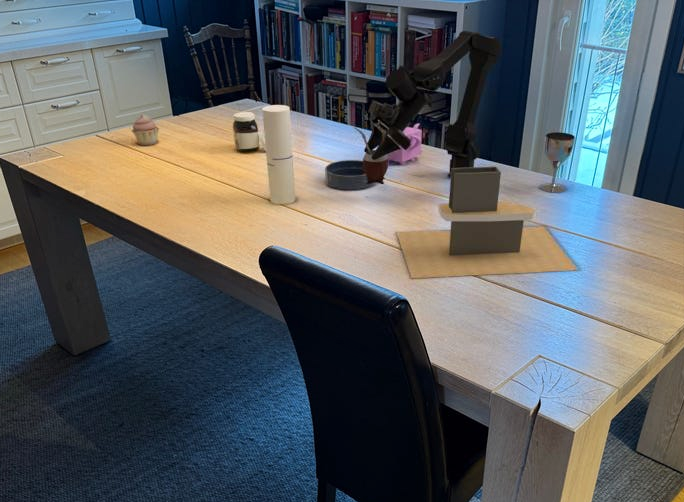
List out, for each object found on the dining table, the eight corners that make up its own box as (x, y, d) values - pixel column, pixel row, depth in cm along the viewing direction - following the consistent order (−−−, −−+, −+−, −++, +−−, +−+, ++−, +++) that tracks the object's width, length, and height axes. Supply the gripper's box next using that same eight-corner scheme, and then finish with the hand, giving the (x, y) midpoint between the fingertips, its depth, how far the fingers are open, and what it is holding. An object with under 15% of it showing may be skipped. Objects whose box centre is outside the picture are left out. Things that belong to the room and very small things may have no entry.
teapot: (423, 167, 214) (424, 132, 208) (381, 167, 214) (381, 132, 208) (418, 152, 227) (419, 119, 221) (378, 153, 226) (379, 120, 220)
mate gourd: (393, 181, 188) (393, 126, 180) (372, 188, 184) (371, 132, 175) (375, 175, 193) (374, 121, 184) (354, 181, 188) (353, 126, 180)
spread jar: (232, 147, 233) (228, 112, 226) (264, 143, 237) (261, 108, 230) (242, 157, 224) (238, 121, 217) (275, 152, 228) (272, 116, 221)
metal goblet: (535, 190, 196) (542, 138, 188) (542, 181, 202) (550, 130, 194) (562, 194, 193) (571, 141, 185) (569, 186, 199) (577, 134, 191)
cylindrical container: (291, 205, 188) (284, 112, 174) (266, 203, 189) (258, 111, 175) (298, 196, 193) (292, 105, 179) (274, 194, 195) (267, 104, 181)
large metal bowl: (385, 179, 204) (385, 166, 202) (355, 194, 194) (355, 179, 192) (346, 170, 212) (346, 157, 209) (315, 183, 202) (314, 169, 200)
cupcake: (133, 140, 240) (127, 111, 234) (160, 138, 242) (155, 109, 236) (134, 148, 232) (128, 118, 227) (162, 145, 235) (156, 116, 229)
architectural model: (543, 226, 174) (555, 149, 163) (578, 270, 153) (594, 185, 142) (396, 232, 171) (398, 155, 160) (411, 278, 150) (414, 192, 139)
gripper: (375, 81, 183) (338, 127, 186) (400, 97, 168) (359, 146, 172) (402, 108, 189) (365, 152, 193) (428, 126, 175) (388, 173, 178)
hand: (368, 155), depth 184 cm, fingers closed on mate gourd, 6 cm apart
